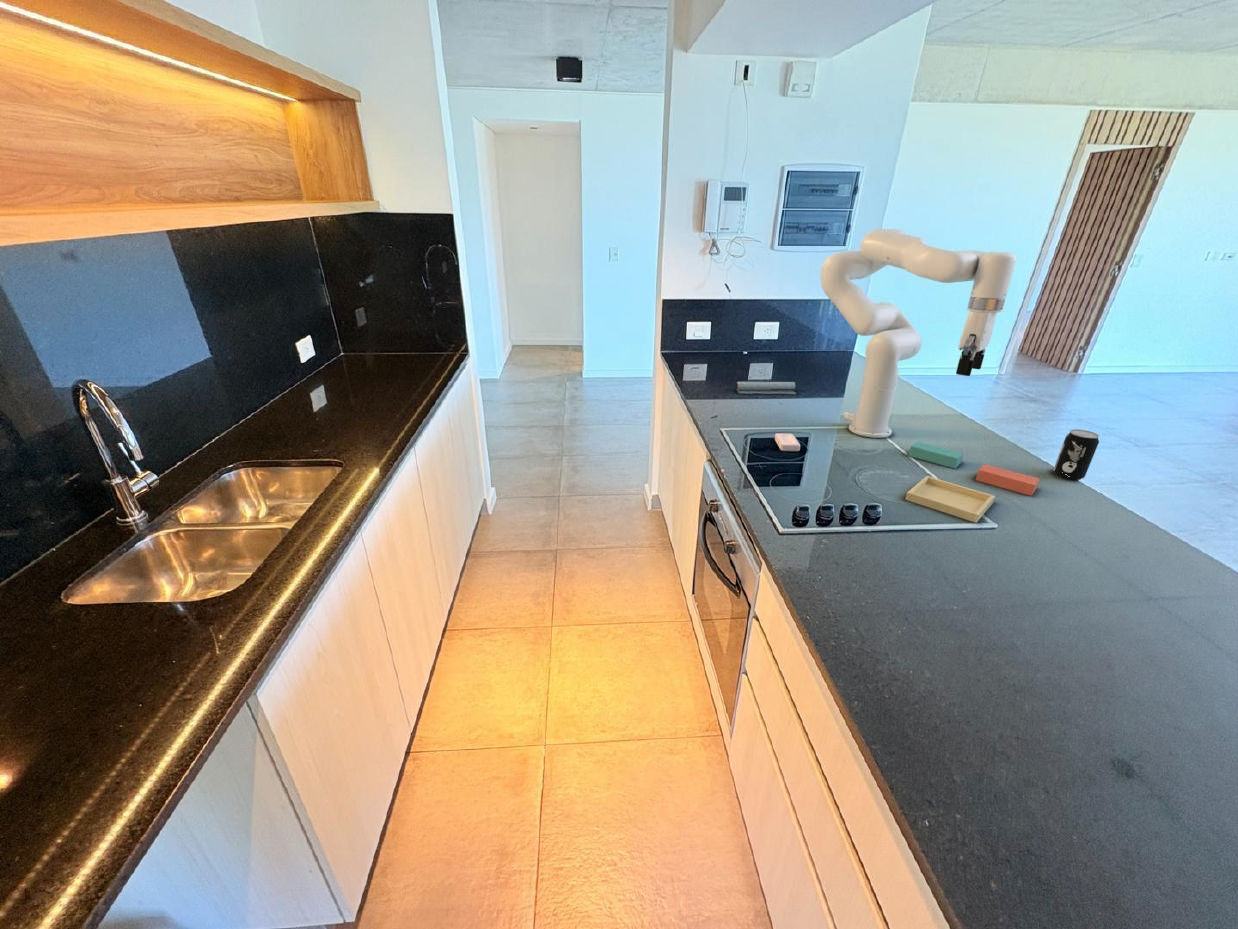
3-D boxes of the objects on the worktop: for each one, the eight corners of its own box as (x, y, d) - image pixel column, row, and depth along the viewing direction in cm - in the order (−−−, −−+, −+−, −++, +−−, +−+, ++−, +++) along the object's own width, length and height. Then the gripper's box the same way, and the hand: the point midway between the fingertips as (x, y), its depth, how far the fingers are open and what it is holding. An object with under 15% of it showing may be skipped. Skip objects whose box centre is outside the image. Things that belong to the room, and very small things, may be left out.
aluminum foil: (792, 389, 211) (793, 380, 209) (797, 394, 204) (798, 385, 203) (735, 388, 211) (736, 380, 210) (738, 393, 205) (739, 385, 204)
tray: (905, 499, 127) (907, 492, 126) (924, 482, 135) (926, 475, 135) (976, 523, 117) (978, 515, 116) (992, 503, 125) (995, 495, 125)
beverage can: (1089, 482, 135) (1107, 438, 130) (1060, 480, 137) (1077, 437, 132) (1074, 471, 141) (1091, 429, 136) (1047, 469, 142) (1062, 427, 137)
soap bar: (781, 451, 154) (782, 444, 153) (774, 440, 162) (775, 432, 161) (799, 452, 154) (800, 444, 153) (792, 440, 162) (793, 432, 161)
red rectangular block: (975, 480, 137) (978, 469, 135) (981, 474, 140) (984, 464, 139) (1031, 496, 129) (1035, 485, 127) (1035, 489, 132) (1039, 478, 131)
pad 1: (908, 455, 151) (910, 446, 150) (914, 451, 154) (917, 441, 153) (954, 468, 143) (957, 458, 142) (960, 463, 146) (963, 453, 145)
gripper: (978, 300, 141) (962, 363, 148) (958, 307, 130) (942, 375, 137) (1011, 302, 136) (993, 368, 143) (994, 309, 125) (975, 380, 132)
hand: (968, 371), depth 140 cm, fingers open, 9 cm apart
